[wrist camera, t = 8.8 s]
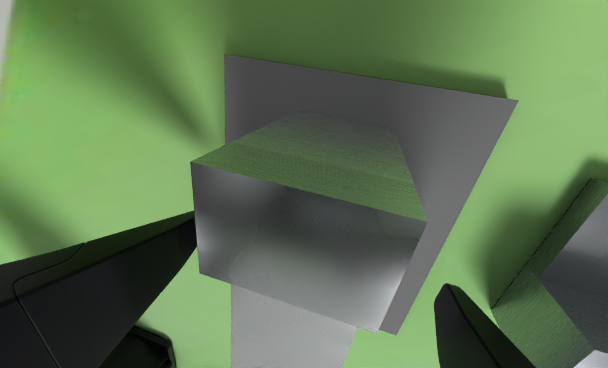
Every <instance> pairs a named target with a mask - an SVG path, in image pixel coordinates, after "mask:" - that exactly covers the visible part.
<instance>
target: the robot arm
mask: <svg viewBox="0 0 608 368" xmlns="http://www.w3.org/2000/svg"><path fill="white" fill-rule="evenodd" d="M196 247H197V236H196V224H195V212H194V211H191V212H187V213H184V214H181V215H177V216H174V217H170V218H167V219H163V220H160V221H157V222H153V223H150V224H146V225H143V226H139V227H136V228H133V229H129V230H126V231H122V232H119V233H115V234H112V235H109V236H105V237H102V238H98V239H95V240H91V241H88V242H86V243H81V244H78V245H74V246H71V247H67V248H64V249H60V250H56V251H53V252H49V253H45V254H41V255H38V256H34V257H30V258H26V259H22V260H18V261H14V262H9V263H5V264H1V265H0V368H176V367H175V361H174V356H173V351H172V346H171V344H170V343H169V342H168V341H166V340H164V339H162V338H159V337H157V336H154V335H152V334H149V333H147V332H144V331H142V330H139V329H137V328H135V327H132V326H133V325H134V324H135V323H136V322H137V321H138V319H139V318H140V317H141V316H142V315H143V313H144V312H145V311H146V310H147V309H148V308H149V306H150V305H151V304H152V303H153V302H154V300H155V299H156V298H157V297H158V296H159V294H160V293H161V292H162V291H163V290H164V289H165V287H166V286H167V285H168V284H169V283H170V281H171V280H172V279H173V278H174V277H175V276H176V274H177V273H178V272H179V271H180V269H181V268H182V267H183V266H184V264H185V263H186V262H187V260H188V259H189V257H190V256H191V254H192V253H193V251H194V250H195V248H196ZM434 312H435V325H436V338H437V349H438V357H439V363H440V368H536V367H535V366H534V365H533V364H532V363H531V361H530V360H529V359H528V358H527V357H526V356H525V355H524V354H523V353H522V352H521V351H520V350H519V349H518V348H517V347H516V346H515V345H514V344H513V343H512V342H511V340H510V339H509V338H508V337H507V336H506V335H505V334H504V333H503V332H502V331H501V330H500V329H499V328H498V327H497V326H496V325H495V324H494V323H493V322H492V321H491V319H490V318H489V317H488V316H487V315H486V314H485V313H484V312H483V311H482V310H481V309H480V308H479V307H478V306H477V305H476V304H475V303H474V302H473V301H472V300H471V298H470V297H469V296H468V295H467V294H466V293H465V292H464V291H463V290H462V289H461V288H460V287H458V286H455V285H452V284H448V283H446V284H444V285H443V286H442V288H441V290H440V292H439V293H438V295H437V297H436V299H435V302H434Z"/></svg>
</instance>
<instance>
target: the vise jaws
mask: <svg viewBox="0 0 608 368" xmlns="http://www.w3.org/2000/svg"><path fill="white" fill-rule="evenodd" d="M491 312H492V314H493V316H494V318H495V320H496V322H497V324H498V326H499V328H500V330H501V331H502V332H503V333H504V334H505V335H506V336H507V337H508V338H509V339H510V340H511V342H512V343H513V344H514V345H515V346H516V347H517V348H518V349H519V350H520V351H521V352H522V353H523V354H524V355H525V356H526V357H527V358H528V359H529V360H530V361H531V363H532V364H533V365H534V366H535V367H536V368H608V181H604V180H599V179H594V178H591V180H590V181H589V182H588V184H587V185H586V186H585V188H584V189H583V190H582V192H581V193H580V194H579V196H578V197H577V198H576V200H575V201H574V202H573V203H572V205H571V206H570V207H569V209H568V210H567V211H566V213H565V214H564V215H563V217H562V218H561V219H560V221H559V222H558V223H557V225H556V226H555V227H554V228H553V230H552V231H551V232H550V234H549V235H548V236H547V238H546V239H545V240H544V242H543V243H542V244H541V246H540V247H539V248H538V250H537V251H536V252H535V253H534V255H533V256H532V257H531V259H530V260H529V261H528V263H527V264H526V265H525V267H524V268H523V269H522V271H521V272H520V273H519V275H518V276H517V277H516V278H515V280H514V281H513V282H512V284H511V285H510V286H509V288H508V289H507V290H506V292H505V293H504V294H503V296H502V297H501V298H500V300H499V301H498V302H497V303H496V305H495V306H494V307H493V309H492V310H491Z"/></svg>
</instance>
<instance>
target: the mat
mask: <svg viewBox="0 0 608 368" xmlns="http://www.w3.org/2000/svg"><path fill="white" fill-rule="evenodd" d="M224 58H225V142H226V145H227V144H229V143H231V142H233V141H235V140H237V139H239V138H241V137H243V136H245V135H247V134H250V133H252V132H254V131H256V130H258V129H260V128H262V127H264V126H266V125H268V124H270V123H273V122H275V121H277V120H279V119H281V118H283V117H285V116H287V115H289V114H291V113H293V112H295V111H298V110H300V109H301V110H306V111H311V112H317V113H322V114H327V115H332V116H337V117H343V118H348V119H353V120H358V121H364V122H369V123H374V124H379V125H384V126H390V127H394V130H395V133H396V136H397V138H398V141H399V144H400V147H401V149H402V152H403V155H404V158H405V160H406V163H407V166H408V169H409V171H410V174H411V177H412V180H413V182H414V185H415V188H416V191H417V193H418V196H419V199H420V202H421V204H422V207H423V210H424V213H425V215H426V218H427V221H428V223H427V225H426V227H425V229H424V231H423V234H422V236H421V238H420V240H419V242H418V244H417V247H416V249H415V251H414V253H413V255H412V258H411V260H410V262H409V264H408V266H407V268H406V271H405V273H404V275H403V277H402V279H401V281H400V284H399V286H398V288H397V290H396V292H395V295H394V297H393V299H392V301H391V303H390V305H389V308H388V310H387V312H386V314H385V316H384V319H383V321H382V323H381V325H380V327H379V330H382V331H385V332H388V333H391V334H394V335H397V333H398V331H399V329H400V327H401V326H402V324H403V322H404V320H405V318H406V316H407V314H408V312H409V310H410V308H411V306H412V304H413V302H414V301H415V299H416V297H417V295H418V293H419V291H420V289H421V287H422V285H423V283H424V281H425V279H426V278H427V276H428V274H429V272H430V270H431V268H432V266H433V264H434V262H435V260H436V258H437V256H438V254H439V253H440V251H441V249H442V247H443V245H444V243H445V241H446V239H447V237H448V235H449V233H450V231H451V229H452V228H453V226H454V224H455V222H456V220H457V218H458V216H459V214H460V212H461V210H462V208H463V206H464V204H465V203H466V201H467V199H468V197H469V195H470V193H471V191H472V189H473V187H474V185H475V183H476V181H477V180H478V178H479V176H480V174H481V172H482V170H483V168H484V166H485V164H486V162H487V160H488V158H489V156H490V155H491V153H492V151H493V149H494V147H495V145H496V143H497V141H498V139H499V137H500V135H501V133H502V131H503V130H504V128H505V126H506V124H507V122H508V120H509V118H510V116H511V114H512V112H513V110H514V108H515V107H516V105H517V103H518V100H512V99H507V98H500V97H494V96H488V95H481V94H475V93H468V92H462V91H456V90H449V89H443V88H437V87H430V86H424V85H418V84H411V83H405V82H399V81H392V80H386V79H380V78H373V77H367V76H361V75H354V74H348V73H341V72H335V71H329V70H322V69H316V68H310V67H303V66H297V65H291V64H284V63H278V62H272V61H265V60H259V59H253V58H246V57H240V56H233V55H226V54H224Z"/></svg>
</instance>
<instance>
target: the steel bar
mask: <svg viewBox="0 0 608 368" xmlns="http://www.w3.org/2000/svg"><path fill="white" fill-rule="evenodd" d="M190 164H191V176H192V188H193V200H194V212H195V224H196V236H197V248H198V260H199V272H200V273H201V274H204V275H207V276H209V277H212V278H215V279H218V280H221V281H224V282H227V283H230V284H231V368H342V367H343V364H344V362H345V359H346V357H347V354H348V351H349V349H350V346H351V344H352V341H353V339H354V336H355V334H356V331H357V328H358V327H359V328H361V329H364V330H367V331H370V332H373V333H376V334H377V332H378V329H379V327H380V325H381V323H382V321H383V319H384V316H385V314H386V312H387V310H388V308H389V305H390V303H391V301H392V299H393V297H394V295H395V292H396V290H397V288H398V286H399V284H400V281H401V279H402V277H403V275H404V273H405V271H406V268H407V266H408V264H409V262H410V260H411V258H412V255H413V253H414V251H415V249H416V247H417V244H418V242H419V240H420V238H421V236H422V234H423V231H424V229H425V227H426V225H427V223H428V221H427V218H426V215H425V213H424V210H423V207H422V204H421V202H420V199H419V196H418V193H417V191H416V188H415V185H414V182H413V180H412V177H411V174H410V171H409V169H408V166H407V163H406V160H405V158H404V155H403V152H402V149H401V147H400V144H399V141H398V138H397V136H396V133H395V130H394V127H390V126H384V125H379V124H374V123H369V122H364V121H358V120H353V119H348V118H343V117H337V116H332V115H327V114H322V113H317V112H311V111H306V110H301V109H300V110H298V111H295V112H293V113H291V114H289V115H287V116H285V117H283V118H281V119H279V120H277V121H275V122H273V123H270V124H268V125H266V126H264V127H262V128H260V129H258V130H256V131H254V132H252V133H250V134H247V135H245V136H243V137H241V138H239V139H237V140H235V141H233V142H231V143H229V144H227V145H224V146H222V147H220V148H218V149H216V150H214V151H212V152H210V153H208V154H206V155H204V156H201V157H199V158H197V159H195V160H193V161H191V162H190Z"/></svg>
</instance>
